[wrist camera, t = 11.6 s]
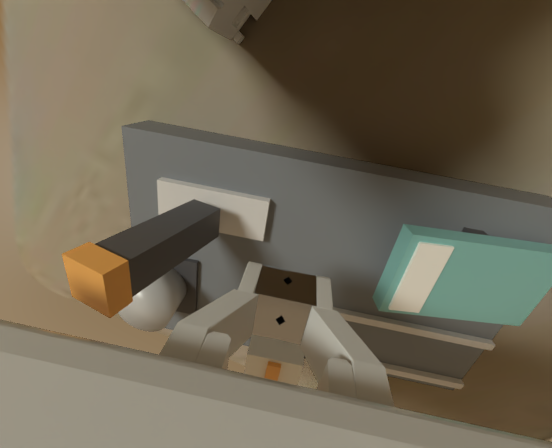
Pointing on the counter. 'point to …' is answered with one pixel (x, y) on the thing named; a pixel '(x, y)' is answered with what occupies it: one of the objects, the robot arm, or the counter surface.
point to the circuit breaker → (227, 14)
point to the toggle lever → (138, 256)
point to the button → (156, 303)
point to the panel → (324, 231)
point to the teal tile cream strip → (464, 276)
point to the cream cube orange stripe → (274, 360)
